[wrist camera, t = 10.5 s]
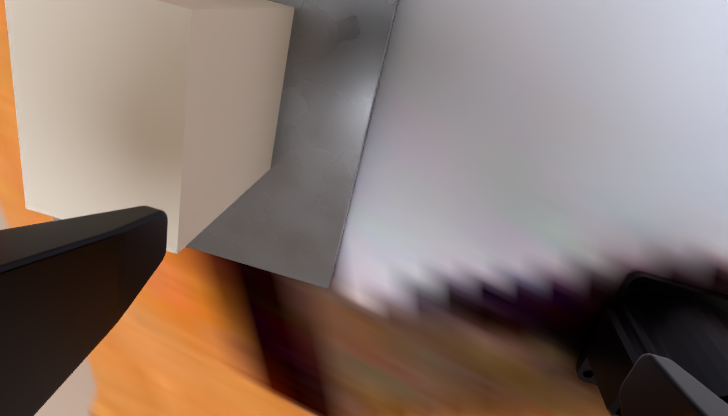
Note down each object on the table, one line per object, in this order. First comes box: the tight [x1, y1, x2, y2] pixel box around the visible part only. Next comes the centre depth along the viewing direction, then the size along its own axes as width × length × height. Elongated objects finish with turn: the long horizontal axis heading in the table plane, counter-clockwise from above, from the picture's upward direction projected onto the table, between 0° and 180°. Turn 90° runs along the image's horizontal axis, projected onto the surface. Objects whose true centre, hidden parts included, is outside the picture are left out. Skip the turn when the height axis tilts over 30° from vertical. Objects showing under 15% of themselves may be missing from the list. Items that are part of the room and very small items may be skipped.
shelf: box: [53, 0, 398, 289], centre depth 18 cm, size 13×23×3 cm, turn 167°
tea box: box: [5, 0, 295, 254], centre depth 16 cm, size 5×7×8 cm
